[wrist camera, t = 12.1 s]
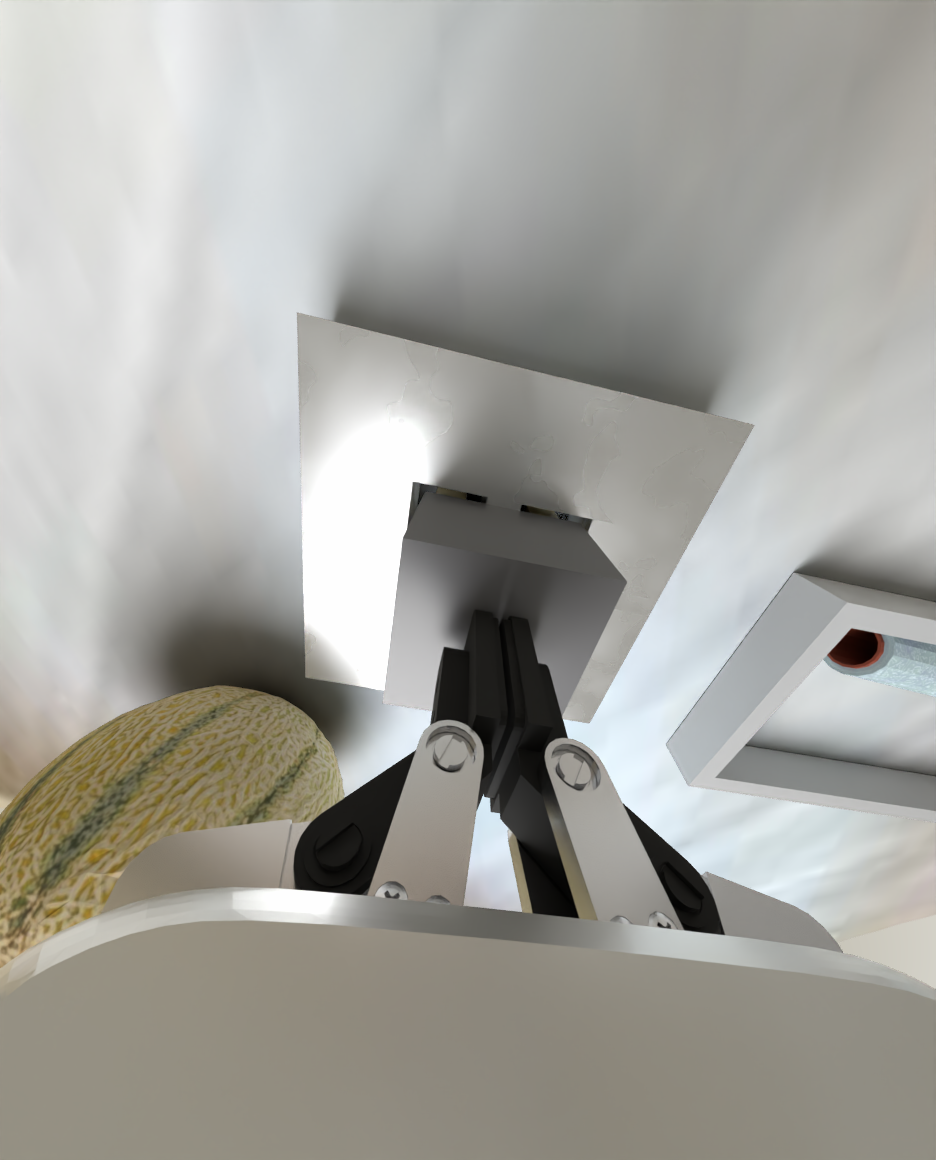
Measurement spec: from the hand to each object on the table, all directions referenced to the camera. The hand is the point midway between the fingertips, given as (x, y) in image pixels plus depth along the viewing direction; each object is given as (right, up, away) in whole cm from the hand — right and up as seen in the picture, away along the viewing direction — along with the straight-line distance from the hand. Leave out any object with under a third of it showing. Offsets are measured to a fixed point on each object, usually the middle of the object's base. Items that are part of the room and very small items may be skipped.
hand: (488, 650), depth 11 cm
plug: (0, +4, +7) cm, 8 cm away
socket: (0, +4, +7) cm, 8 cm away
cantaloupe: (-15, -8, +14) cm, 22 cm away
